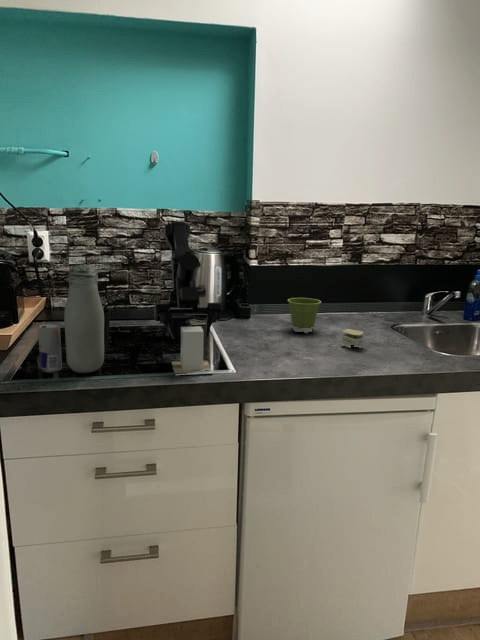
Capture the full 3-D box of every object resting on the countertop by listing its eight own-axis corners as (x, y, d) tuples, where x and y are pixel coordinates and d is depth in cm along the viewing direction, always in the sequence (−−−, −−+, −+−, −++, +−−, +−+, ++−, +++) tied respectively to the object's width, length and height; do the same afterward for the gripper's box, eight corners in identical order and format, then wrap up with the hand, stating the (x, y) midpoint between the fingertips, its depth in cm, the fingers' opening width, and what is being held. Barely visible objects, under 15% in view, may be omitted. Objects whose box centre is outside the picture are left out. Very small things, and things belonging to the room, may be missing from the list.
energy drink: (43, 366, 140) (41, 323, 138) (64, 366, 141) (62, 323, 138) (38, 372, 135) (35, 328, 132) (59, 372, 136) (56, 328, 133)
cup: (116, 348, 158) (115, 310, 156) (102, 355, 151) (100, 315, 149) (94, 345, 161) (93, 307, 158) (79, 352, 154) (77, 312, 151)
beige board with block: (171, 364, 145) (171, 348, 144) (207, 363, 147) (207, 347, 146) (174, 376, 136) (175, 360, 135) (212, 374, 138) (213, 358, 137)
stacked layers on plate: (331, 347, 168) (332, 331, 166) (346, 342, 174) (347, 326, 173) (358, 354, 161) (360, 337, 160) (373, 349, 167) (374, 332, 166)
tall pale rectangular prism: (180, 364, 143) (180, 326, 141) (200, 363, 144) (200, 326, 142) (182, 370, 138) (183, 331, 136) (203, 369, 139) (203, 331, 137)
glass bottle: (70, 380, 131) (65, 269, 124) (63, 367, 140) (58, 264, 133) (109, 374, 135) (106, 268, 129) (100, 363, 144) (97, 262, 138)
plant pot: (324, 330, 187) (326, 300, 185) (310, 337, 178) (312, 305, 175) (295, 325, 193) (296, 296, 191) (280, 332, 184) (281, 300, 181)
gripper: (154, 274, 141) (157, 324, 134) (222, 274, 145) (228, 322, 138) (153, 296, 151) (156, 344, 143) (216, 296, 155) (222, 342, 147)
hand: (190, 338), depth 143 cm, fingers open, 9 cm apart
